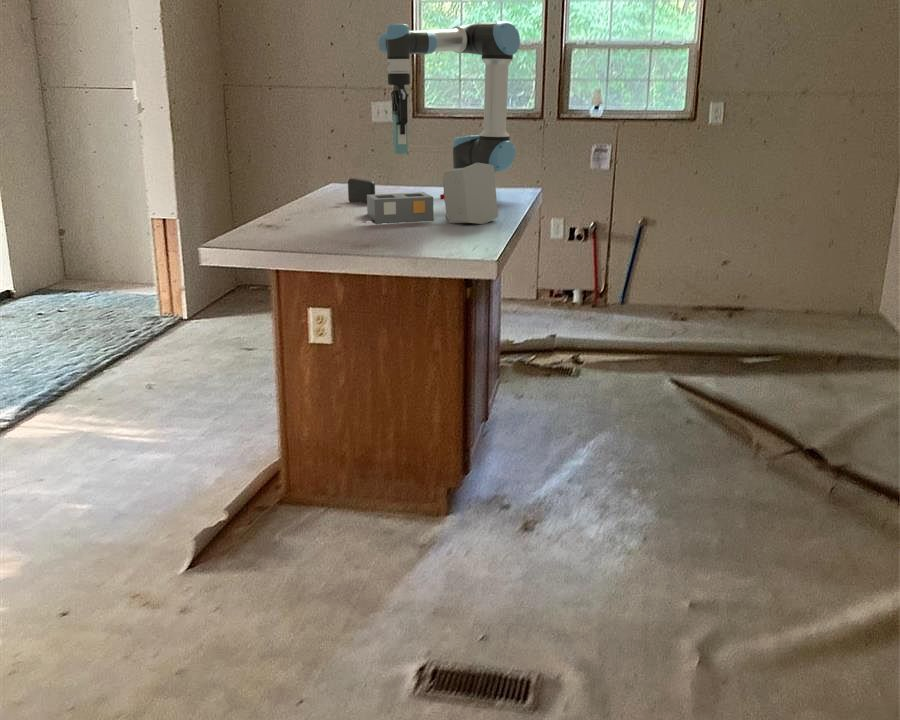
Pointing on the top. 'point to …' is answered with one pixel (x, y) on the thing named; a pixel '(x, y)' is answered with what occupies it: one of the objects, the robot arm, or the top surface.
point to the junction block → (400, 207)
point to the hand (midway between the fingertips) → (400, 143)
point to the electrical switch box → (470, 194)
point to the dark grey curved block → (360, 189)
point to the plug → (397, 147)
